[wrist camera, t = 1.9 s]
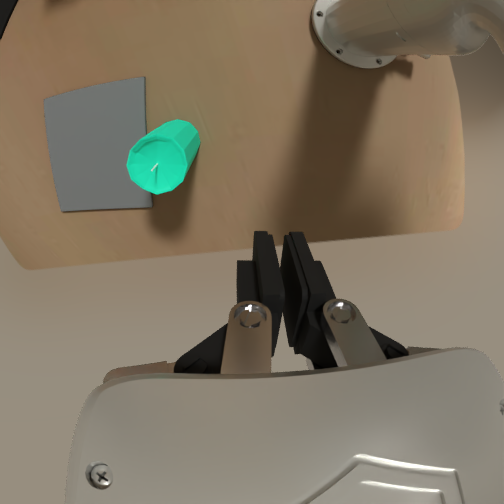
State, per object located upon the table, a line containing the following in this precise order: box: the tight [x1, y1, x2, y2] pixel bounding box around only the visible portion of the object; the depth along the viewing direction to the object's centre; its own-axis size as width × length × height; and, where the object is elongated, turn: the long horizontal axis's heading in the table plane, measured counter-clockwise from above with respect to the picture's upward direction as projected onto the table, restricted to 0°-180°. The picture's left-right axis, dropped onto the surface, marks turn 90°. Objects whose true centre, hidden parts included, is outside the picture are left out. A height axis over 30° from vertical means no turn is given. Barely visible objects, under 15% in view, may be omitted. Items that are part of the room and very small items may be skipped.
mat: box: [44, 77, 153, 211], centre depth 31 cm, size 16×18×1 cm
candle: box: [126, 119, 200, 195], centre depth 27 cm, size 6×6×12 cm
